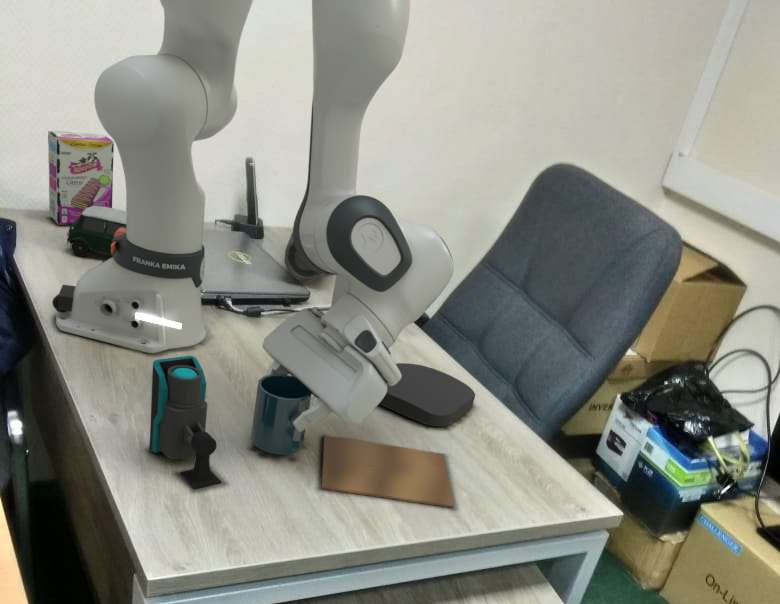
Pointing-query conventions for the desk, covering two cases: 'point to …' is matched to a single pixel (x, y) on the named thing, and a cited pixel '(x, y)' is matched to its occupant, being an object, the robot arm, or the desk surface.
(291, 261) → the bluetooth speaker
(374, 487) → the brown flat rectangular board
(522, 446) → the desk surface
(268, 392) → the cup
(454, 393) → the media streaming box
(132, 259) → the robot arm
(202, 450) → the surveillance camera
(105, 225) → the miniature car
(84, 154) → the candy bar box
